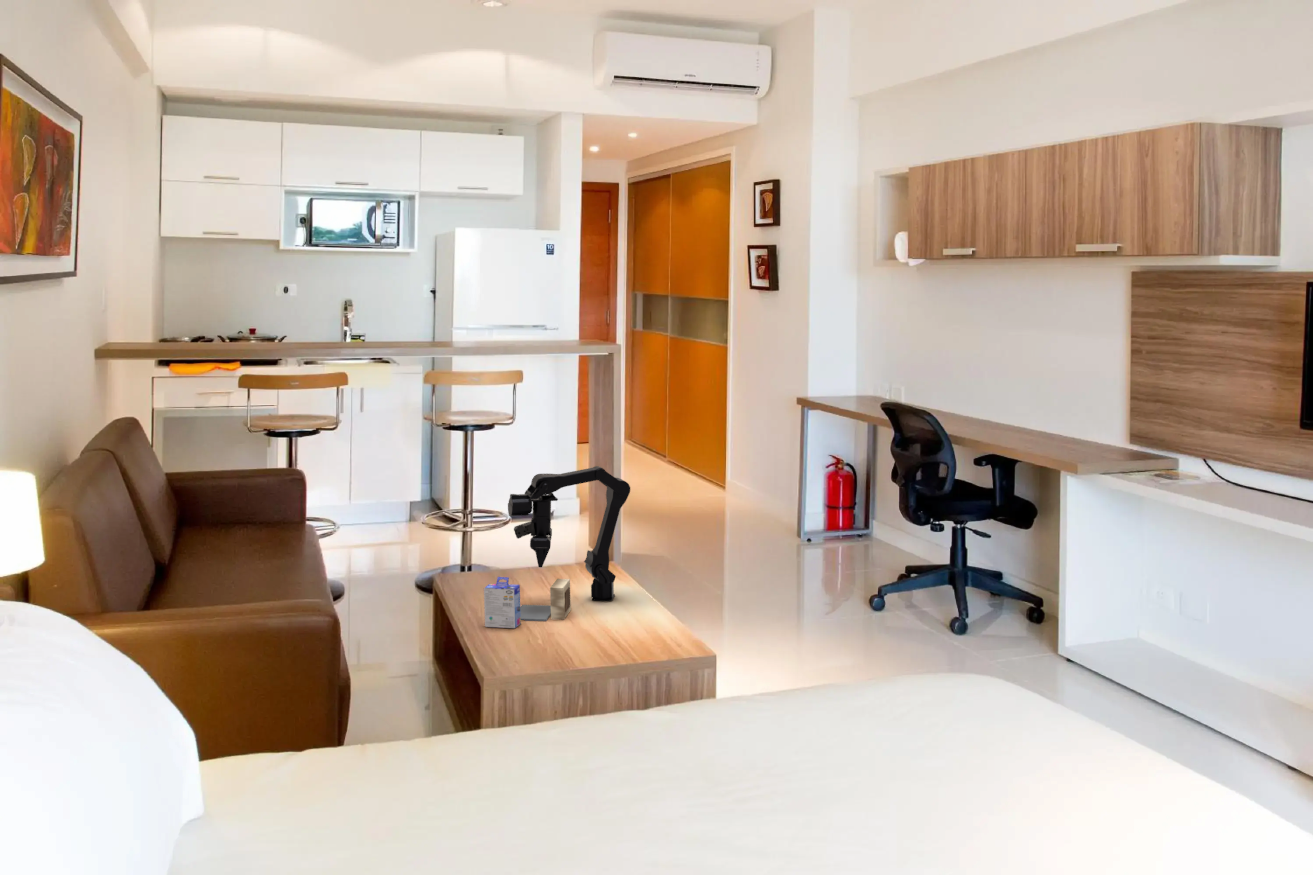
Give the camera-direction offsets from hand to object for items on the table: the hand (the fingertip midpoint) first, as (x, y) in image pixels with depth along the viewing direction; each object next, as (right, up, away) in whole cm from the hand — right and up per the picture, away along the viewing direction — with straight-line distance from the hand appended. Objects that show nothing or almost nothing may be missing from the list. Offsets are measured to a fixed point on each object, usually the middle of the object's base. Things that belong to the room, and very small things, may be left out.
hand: (540, 563), depth 366 cm
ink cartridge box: (-10, -17, -17) cm, 26 cm away
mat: (-2, -15, -6) cm, 16 cm away
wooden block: (+7, -15, -7) cm, 18 cm away
